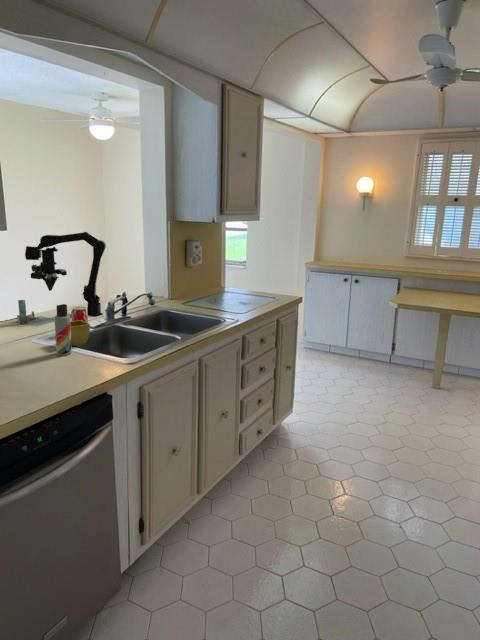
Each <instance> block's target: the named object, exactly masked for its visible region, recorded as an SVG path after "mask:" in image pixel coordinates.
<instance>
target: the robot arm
mask: <svg viewBox="0 0 480 640" xmlns="http://www.w3.org/2000/svg"><path fill="white" fill-rule="evenodd" d="M80 241H84V242H86V243H87V244H88V245H90V246H91V247H92V250H93V251H92V254H93V255H92V256H93V259H92V262H91V268H90V273H89V278H88V283H87V285H86V284H84V286H83V293H81V295H82V297H83V299H84V301H85V302H86V303H87V307H86V310H87V312H88V317H89V316H91V317H97V316H102V315H104V312H102V311H101V310H102V309H101V307H102V304H101V302H100V300H101V297H100V296H99V295H98V294H97V280H98V277H99V276H98V274H99V272H100V271H99V269H100V266H101V260H102V257H103V255H104V252H105V250H106V243H105V241H104V240H102V239H98V238H96V237H95V236H93V235H92V234H90V232H87V231H83V232H78V233H77V232H76V233H69V234H61V235H59V234H45V235H42V236H41V237H40V239H39V244H38V245H37V246H30V245H26V246H25V251H24V252H25V253H24V257H25V260H26V261H39V260H40V259H41V261H40V263H39V265H37V264H32V265H31V271H32V272H31V273H30V278H31V279H33V280H35V279H36V280H43V281H44V283H45V284H46V287H47V289H48V291H50V292H52V290H53V289H54V286H55V284H56V282H57V280H58V279H59V276H58V275H62V276H63V277H64V276H67V275H68V273H67V272H68V271H67V270H66V269H64V268H63V269H61V268H56V265H57V261H55V252H58V251H59V249H57V248H56V247H55V246H56V245H58V244H63V243H64V244H65V243H71V242H80ZM44 248H45V249H44Z"/></svg>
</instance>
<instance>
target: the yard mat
mask: <svg viewBox="0 0 480 640" xmlns="http://www.w3.org/2000/svg"><path fill="white" fill-rule="evenodd" d="M36 317H37V318H39V319H37V320H28V321H27V323H25V324H24V325H27V326H28V325H29V326H33V327H40V326H44V325H48V324H51V323H55V318H52V317H47V316H43V315H39V316H36ZM17 323H18V324H21V323H20V322H17Z"/></svg>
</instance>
